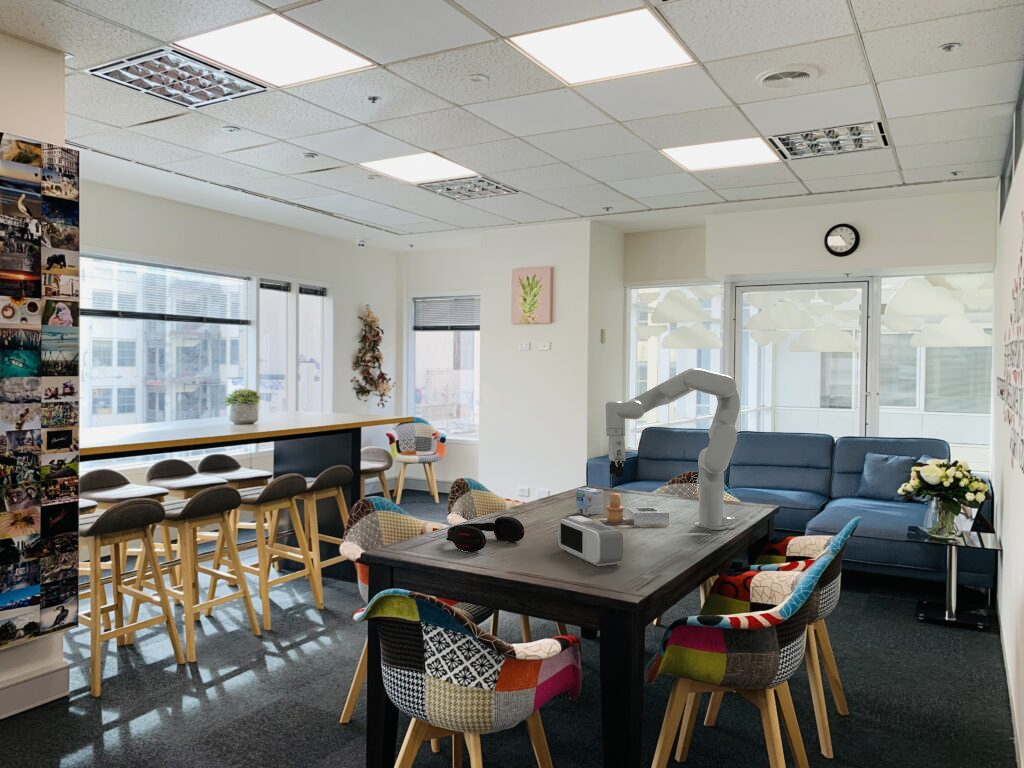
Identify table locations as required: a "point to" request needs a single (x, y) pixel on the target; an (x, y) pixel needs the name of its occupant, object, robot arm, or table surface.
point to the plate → (641, 518)
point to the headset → (474, 538)
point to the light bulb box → (589, 501)
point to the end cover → (615, 509)
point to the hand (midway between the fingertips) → (616, 475)
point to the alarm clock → (590, 540)
